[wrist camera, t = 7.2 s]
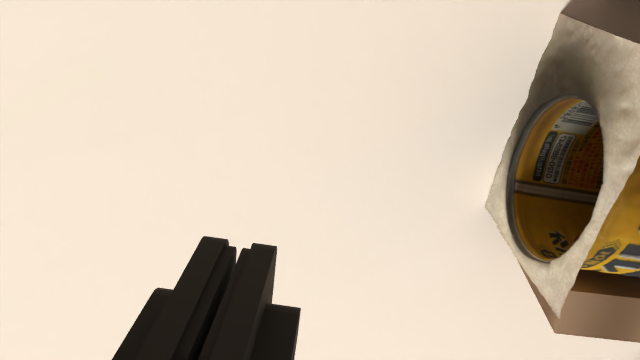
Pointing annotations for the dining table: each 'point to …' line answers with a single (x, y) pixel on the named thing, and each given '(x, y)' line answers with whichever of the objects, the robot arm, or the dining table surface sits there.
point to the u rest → (597, 306)
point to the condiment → (574, 163)
